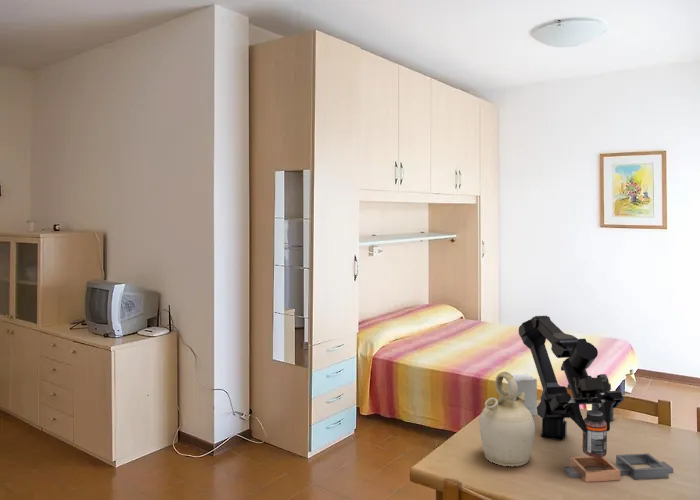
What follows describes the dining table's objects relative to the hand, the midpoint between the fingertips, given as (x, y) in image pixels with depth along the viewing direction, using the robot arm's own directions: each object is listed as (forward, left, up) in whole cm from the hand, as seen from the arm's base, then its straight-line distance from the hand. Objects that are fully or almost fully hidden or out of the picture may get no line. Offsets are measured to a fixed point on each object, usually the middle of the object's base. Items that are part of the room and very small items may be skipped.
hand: (597, 431), depth 150 cm
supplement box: (-28, +38, -12) cm, 49 cm away
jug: (-24, 0, -12) cm, 27 cm away
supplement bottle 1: (-3, +44, -12) cm, 46 cm away
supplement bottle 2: (-1, +1, -7) cm, 7 cm away
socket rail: (+5, +4, -12) cm, 14 cm away
